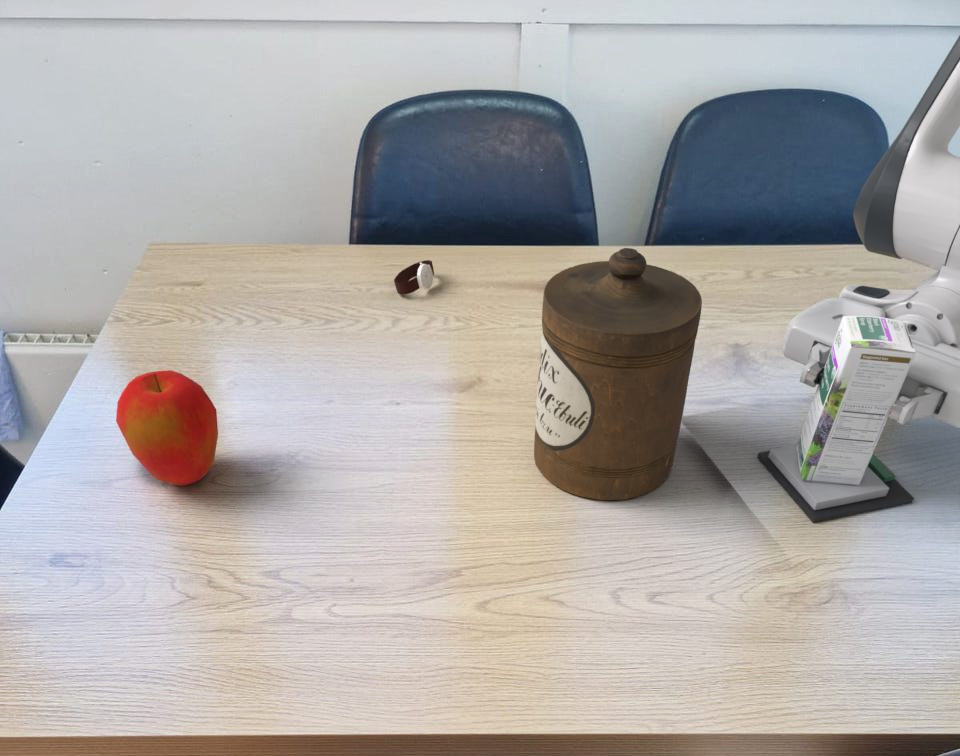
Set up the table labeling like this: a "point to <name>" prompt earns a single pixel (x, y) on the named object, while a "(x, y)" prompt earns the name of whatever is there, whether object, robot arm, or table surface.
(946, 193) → the robot arm
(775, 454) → the scale
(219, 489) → the table surface
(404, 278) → the watch
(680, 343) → the wooden container
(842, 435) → the syrup box
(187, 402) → the apple
